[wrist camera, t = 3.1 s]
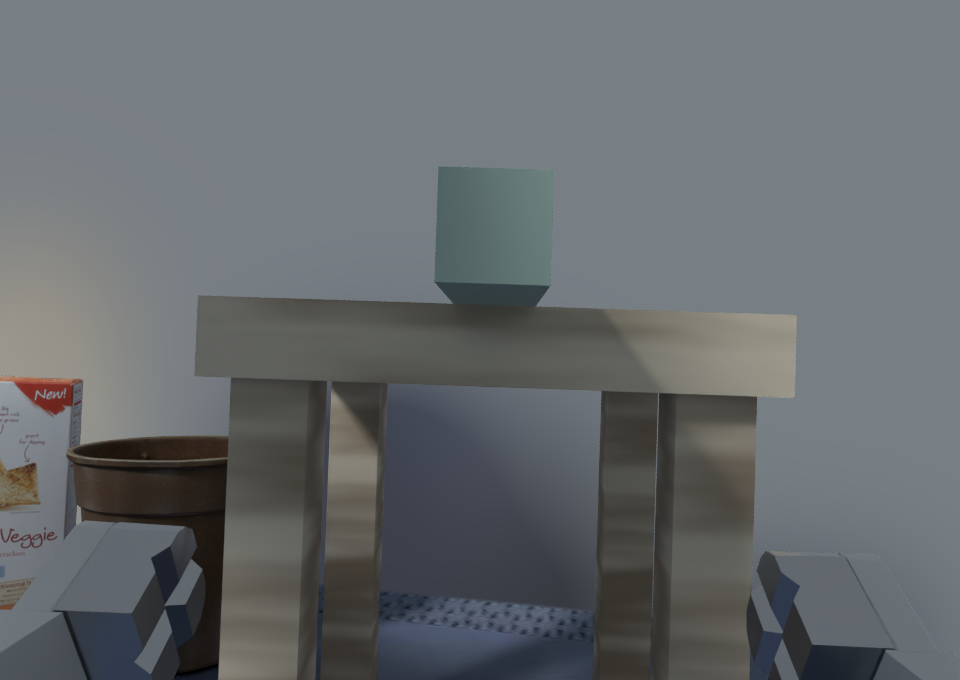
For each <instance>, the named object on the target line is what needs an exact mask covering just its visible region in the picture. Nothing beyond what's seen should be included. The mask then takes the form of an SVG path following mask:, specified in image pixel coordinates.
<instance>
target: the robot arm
mask: <svg viewBox="0 0 960 680" xmlns="http://www.w3.org/2000/svg"><path fill="white" fill-rule="evenodd" d="M196 548H197V544H196V540H195V537H194V533H193V529H190V528H188V527H185V526H170V525H155V524H141V523H126V522H119V523H114V522H100V521H86V520H85V521H83V522H82V523H80V524H78V525H76V526H75V527H74V528H73V529H72V530H71V532H70V533H69V534H68V536H67V537H66V538H65V540H64V541H63V542H62V544H61V545H60V546H59V548H58V549H57V550H56V552H55V553H54V554H53V556H52V557H51V558H50V559H49V561H48V562H47V563H46V565H45V566H44V567H43V569H42V570H41V571H40V573H39V574H38V575H37V577H36V578H35V579H34V581H33V582H32V583H31V585H30V586H29V587H28V589H27V590H26V591H25V593H24V594H23V595H22V597H21V598H20V599H19V600H18V602H17V603H16V604H15V606H14V607H13V608H12V610H0V680H173V678H174V676H175V674H176V672H177V670H178V668H179V666H180V660H179V656H178V652H177V648H178V647H180V646H181V645H182V644H183V643H185V642H186V641H187V640H189V639H190V638H191V637H193V635H194V633H195V631H196V628H197V626H198V624H199V621H200V619H201V615H202V610H203V606H204V601H205V579H204V574H203V569H202V568H200V567H199V566H198V565H197V564H196V563H195V562H194V561H193V560H192V559H191V558H192V556H193V554H194V552H195V550H196ZM757 573H758V575H759V578H760V581H761V583H762V585H761V586H760V587H758V588H757V589H756V590H754V591H753V592H752V593H750V598H749V602H748V606H747V611H746V630H747V636H748V641H749V646H750V650H751V653H752V656H753V659H754V662H755V663H756V664H757V665H758V666H759V667H760V668H761V669H762V670H763V671H764V672H766V673H767V674H768V675H769V678H768V680H960V659H959V658H957V657H956V656H955V655H953V654H951V653H941V652H939V650H938V649H937V647H936V645H935V644H934V642H933V640H932V639H931V637H930V636H929V634H928V632H927V631H926V629H925V627H924V626H923V624H922V622H921V621H920V619H919V617H918V616H917V614H916V612H915V611H914V609H913V608H912V606H911V604H910V603H909V601H908V600H907V598H906V596H905V594H904V593H903V591H902V589H901V588H900V586H899V585H898V583H897V581H896V580H895V578H894V576H893V575H892V573H891V571H890V570H889V568H888V567H887V565H886V563H885V562H884V560H883V559H882V558H880V557H879V556H877V555H876V554H854V553H838V554H836V553H817V552H788V551H766V552H765V553H764V554H763V555H762V557H761V559H760V562H759V565H758V568H757Z"/></svg>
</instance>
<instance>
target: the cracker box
mask: <svg viewBox="0 0 960 680" xmlns="http://www.w3.org/2000/svg"><path fill="white" fill-rule="evenodd" d="M82 389H83V380H81V379H58V378H30V377H15V376H0V610H12V608H13V607H14V606H15V604H16V603H17V602H18V600H19V599H20V598H21V597H22V595H23V594H24V593H25V591H26V590H27V589H28V587H29V586H30V585H31V583H32V582H33V581H34V579H35V578H36V577H37V575H38V574H39V573H40V571H41V570H42V569H43V567H44V566H45V565H46V563H47V562H48V561H49V559H50V558H51V557H52V556H53V554H54V553H55V552H56V550H57V549H58V548H59V546H60V545H61V544H62V542H63V541H64V540H65V538H66V537H67V536H68V534H69V533H70V532H71V530H72V529H73V528H74V527H75V526H76V513H77V503H76V497H75V484H74V473H73V463H72V461H70V460H69V459H67V457H66V451H67V449H69V448H71V447H74V446H78V445H80V434H81V410H82Z"/></svg>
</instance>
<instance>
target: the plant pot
mask: <svg viewBox="0 0 960 680" xmlns="http://www.w3.org/2000/svg"><path fill="white" fill-rule="evenodd" d="M228 438H229V436H161V437H141V438H128V439H117V440H108V441H100V442H94V443H88V444H83V445H78V446H74V447H71V448H69V449H67V451H66V457H67V459H69V460H70V461H72V463H73V473H74V484H75V497H76V503H77V505H78V506H80V507H81V517H82V522H83V521H85V520H86V521H100V522H114V523H119V522H126V523H141V524H155V525H170V526H185V527H188V528H190V529H193V533H194V537H195V540H196V544H197V548H196V550H195V552H194V554H193V556H192V558H191V559H192V560H193V561H194V562H195V563H196V564H197V565H198V566H199V567H200V568H202V569H203V574H204V579H205V601H204V606H203V610H202V615H201V619H200V621H199V624H198V626H197V628H196V631H195V633H194V635H193V637H191V638H190V639H189V640H187V641H186V642H185V643H183V644H182V645H181V646H180V647H178V648H177V652H178V656H179V660H180V666H179V668H178V670H177V672H179V673H183V672H188V671H193V670H197V669H201V668H205V667H208V666H213V665H216V664H219V652H220V629H221V605H222V581H223V557H224V533H225V510H226V486H227V462H228Z"/></svg>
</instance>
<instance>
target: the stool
mask: <svg viewBox="0 0 960 680" xmlns="http://www.w3.org/2000/svg"><path fill="white" fill-rule="evenodd" d="M796 320H797V315H774V314H745V313H713V312H684V311H653V310H623V309H590V308H563V307H532V306H502V305H471V304H440V303H411V302H380V301H350V300H319V299H289V298H258V297H228V296H227V297H226V296H198V306H197V330H196V352H195V376H201V377H228V378H231V391H230V415H229V416H230V417H229V438H228V462H227V486H226V510H225V533H224V557H223V581H222V605H221V629H220V652H219V676H218V680H315V674H316V649H317V624H318V598H319V573H320V547H321V545H320V544H321V521H322V495H323V471H324V445H325V444H324V443H325V420H326V394H327V381H332V393H331V417H330V443H329V444H330V445H329V468H328V495H327V521H326V545H325V573H324V596H323V622H322V647H321V673H320V680H377V655H378V628H379V602H380V575H381V548H382V522H383V494H384V468H385V440H386V415H387V387H388V383H396V384H423V385H451V386H479V387H481V386H482V387H507V388H535V389H562V390H564V389H565V390H591V391H602V397H601V428H600V459H599V490H598V522H597V555H596V587H595V618H594V650H593V680H650V646H651V612H652V578H653V545H654V544H653V543H654V511H655V509H654V508H655V476H656V475H655V474H656V442H657V441H656V440H657V409H658V393H659V417H658V418H659V419H658V451H657V485H656V519H655V552H654V586H653V620H652V654H651V680H749V676H750V646H749V641H748V636H747V630H746V611H747V606H748V602H749V598H750V593H752V564H753V525H754V488H755V487H754V486H755V451H756V450H755V449H756V414H757V411H756V410H757V397H784V398H795V363H796V359H795V358H796V324H797V321H796Z"/></svg>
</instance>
